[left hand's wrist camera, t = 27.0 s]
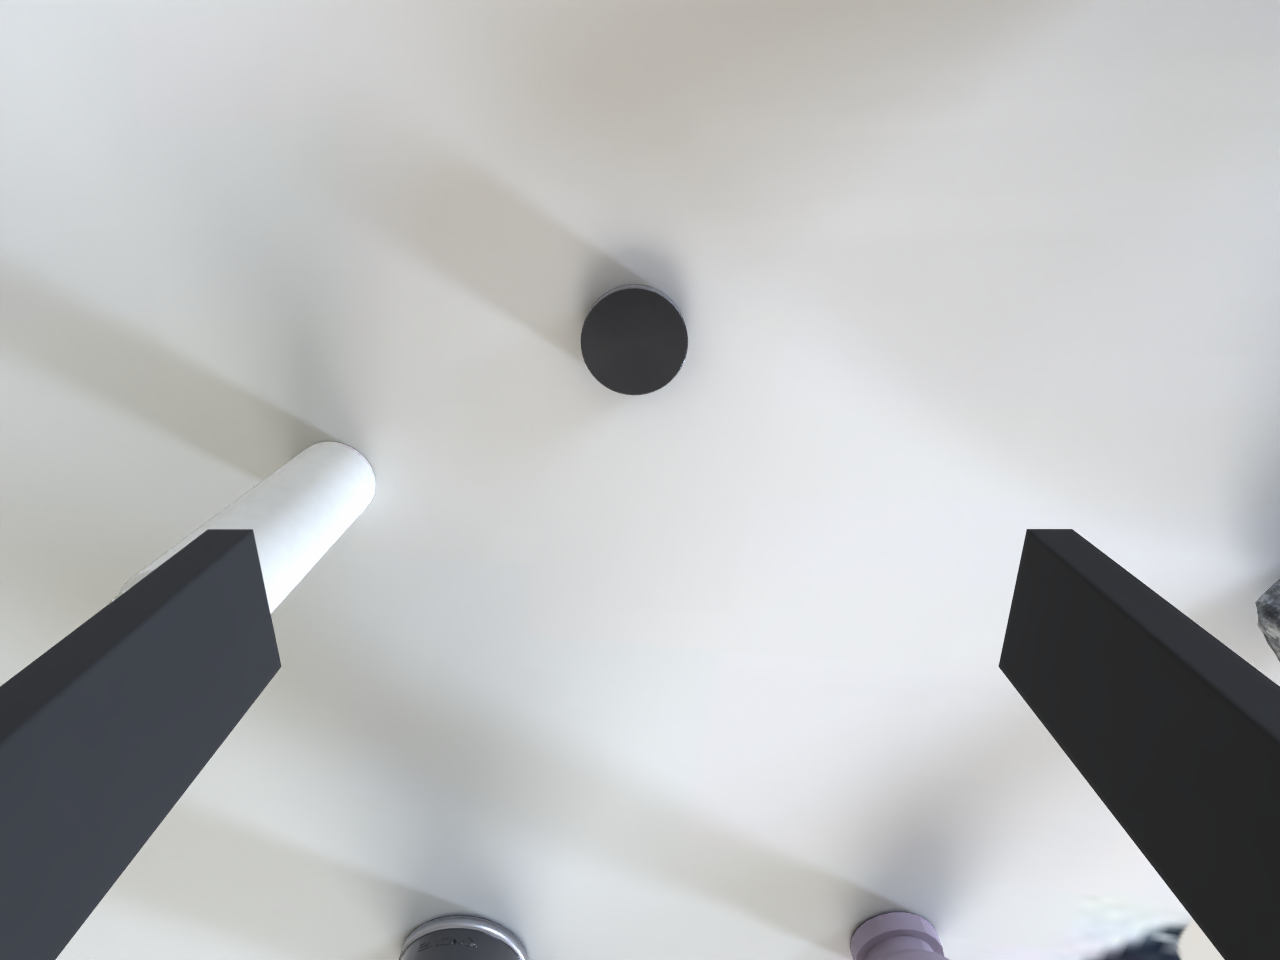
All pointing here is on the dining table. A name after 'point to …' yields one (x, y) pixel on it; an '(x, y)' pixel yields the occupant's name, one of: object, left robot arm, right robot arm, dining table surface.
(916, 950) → the cat figurine
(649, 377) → the lid
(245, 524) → the cylinder
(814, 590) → the dining table surface
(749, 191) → the dining table surface
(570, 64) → the dining table surface
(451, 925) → the right robot arm
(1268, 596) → the concrete block
